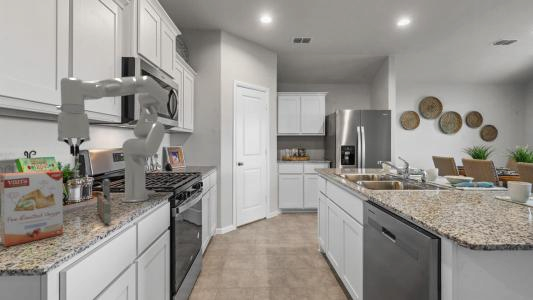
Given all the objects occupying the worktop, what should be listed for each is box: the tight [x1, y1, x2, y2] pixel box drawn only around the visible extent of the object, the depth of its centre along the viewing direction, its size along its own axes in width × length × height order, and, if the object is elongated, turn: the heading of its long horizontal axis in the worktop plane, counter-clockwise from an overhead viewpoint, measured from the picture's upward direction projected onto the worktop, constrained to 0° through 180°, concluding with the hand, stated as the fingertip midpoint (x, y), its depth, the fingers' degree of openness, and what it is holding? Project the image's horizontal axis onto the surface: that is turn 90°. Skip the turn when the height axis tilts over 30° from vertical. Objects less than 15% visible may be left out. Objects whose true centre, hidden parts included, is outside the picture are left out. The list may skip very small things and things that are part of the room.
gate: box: [96, 193, 112, 225], centre depth 105 cm, size 21×2×7 cm, turn 39°
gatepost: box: [101, 178, 111, 203], centre depth 114 cm, size 3×3×14 cm
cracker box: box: [0, 169, 64, 247], centre depth 84 cm, size 14×6×21 cm, turn 143°
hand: (74, 155), depth 108 cm, fingers closed
